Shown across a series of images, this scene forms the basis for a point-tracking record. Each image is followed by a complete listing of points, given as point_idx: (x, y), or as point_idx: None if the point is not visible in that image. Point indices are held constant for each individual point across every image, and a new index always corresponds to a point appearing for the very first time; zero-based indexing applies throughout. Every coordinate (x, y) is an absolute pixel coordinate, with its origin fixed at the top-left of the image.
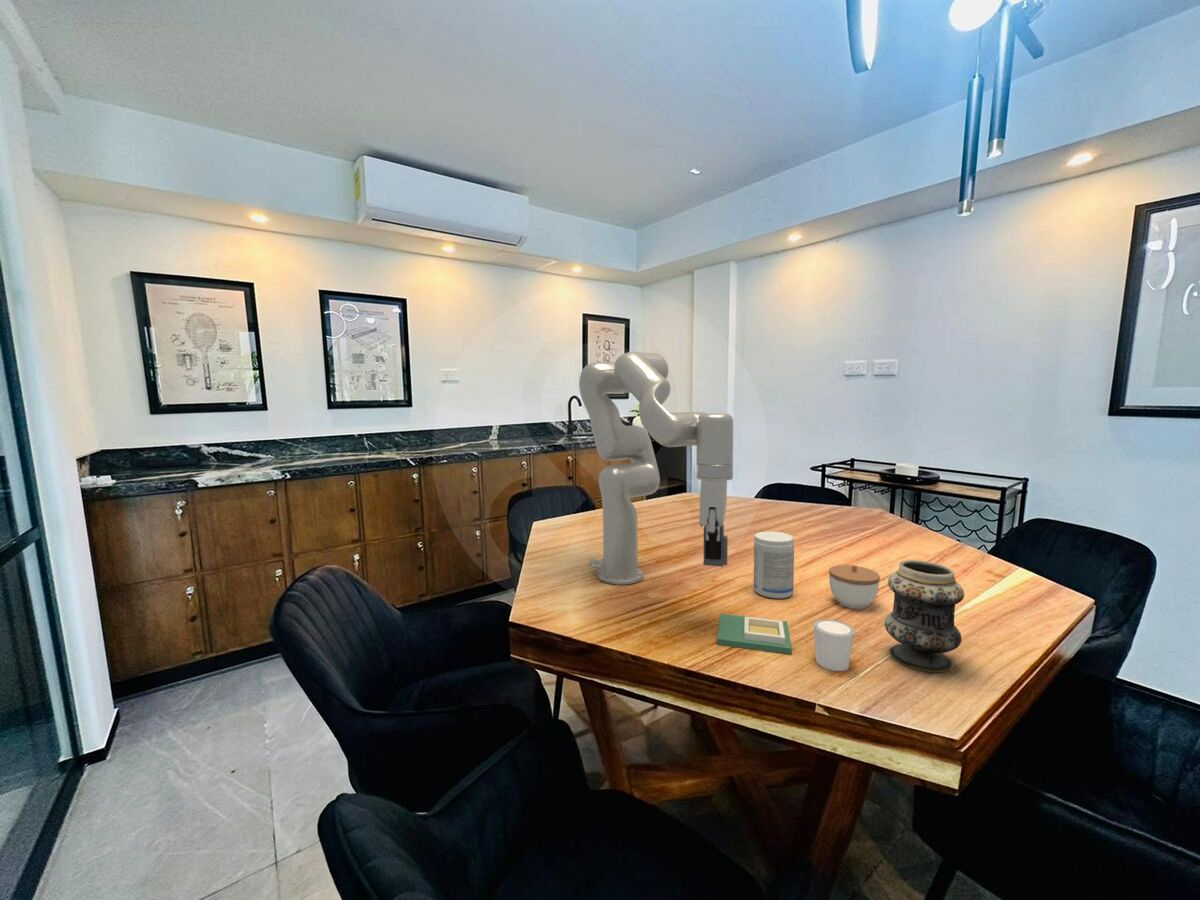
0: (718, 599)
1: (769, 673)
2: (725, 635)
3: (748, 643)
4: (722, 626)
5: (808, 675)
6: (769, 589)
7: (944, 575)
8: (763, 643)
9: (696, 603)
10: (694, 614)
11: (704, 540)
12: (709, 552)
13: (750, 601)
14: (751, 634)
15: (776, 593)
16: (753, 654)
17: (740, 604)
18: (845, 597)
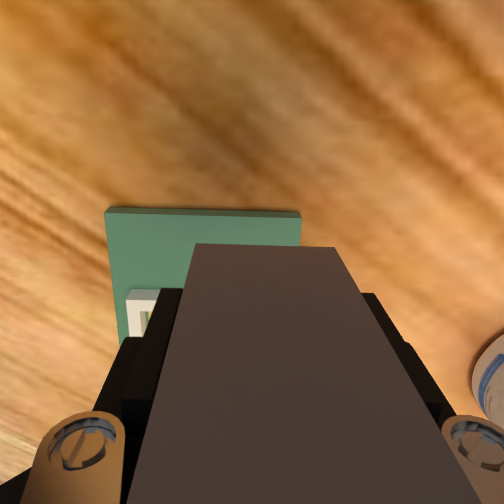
0: (467, 201)
1: (13, 331)
2: (137, 237)
3: (114, 298)
4: (199, 227)
5: (46, 401)
6: (492, 375)
7: None
8: (127, 334)
9: (425, 118)
10: (319, 117)
11: (165, 376)
12: (118, 353)
13: (452, 303)
14: (128, 316)
15: (478, 385)
16: (93, 301)
17: (426, 273)
18: None
